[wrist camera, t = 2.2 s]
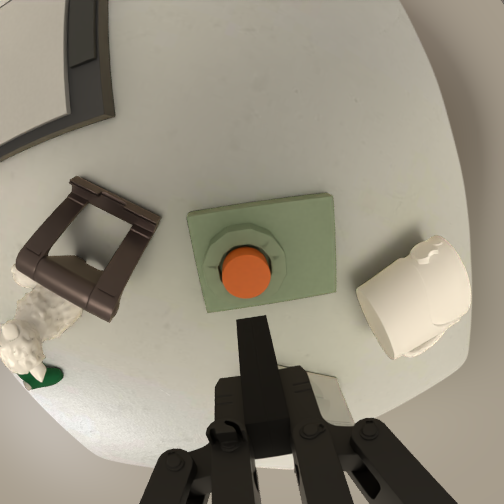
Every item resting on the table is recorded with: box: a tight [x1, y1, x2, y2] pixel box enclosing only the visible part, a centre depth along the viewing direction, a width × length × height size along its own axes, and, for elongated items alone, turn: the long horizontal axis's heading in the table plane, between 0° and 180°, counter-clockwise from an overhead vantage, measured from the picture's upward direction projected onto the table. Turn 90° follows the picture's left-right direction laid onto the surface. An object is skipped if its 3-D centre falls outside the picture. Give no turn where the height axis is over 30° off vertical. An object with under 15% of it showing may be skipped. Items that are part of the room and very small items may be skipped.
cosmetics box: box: [255, 366, 355, 470], centre depth 28 cm, size 10×6×10 cm, turn 66°
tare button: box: [222, 247, 271, 299], centre depth 23 cm, size 4×4×2 cm
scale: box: [0, 0, 115, 162], centre depth 16 cm, size 16×18×3 cm
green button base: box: [187, 193, 336, 313], centre depth 25 cm, size 12×9×4 cm
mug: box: [356, 235, 471, 360], centre depth 26 cm, size 12×9×8 cm
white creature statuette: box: [0, 264, 82, 382], centre depth 21 cm, size 10×9×12 cm
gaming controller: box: [17, 368, 63, 391], centre depth 27 cm, size 9×4×6 cm
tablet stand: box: [15, 176, 161, 323], centre depth 21 cm, size 9×8×8 cm
